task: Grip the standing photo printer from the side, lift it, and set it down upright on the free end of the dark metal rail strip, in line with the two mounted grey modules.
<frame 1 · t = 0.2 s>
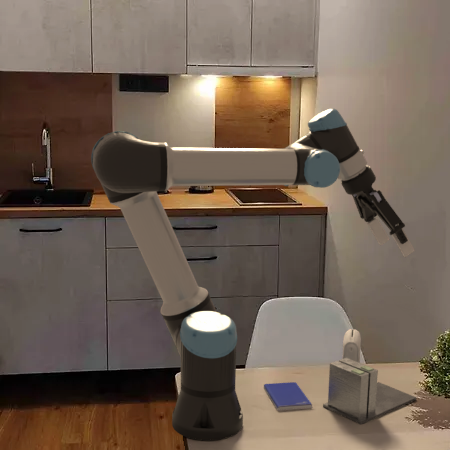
hand: (396, 247, 169), 34 cm above the table, tool tilted 35°, fingers open, 13 cm apart
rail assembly: (370, 403, 165), on the table
hard drive: (287, 400, 168), on the table
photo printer: (350, 379, 179), on the table
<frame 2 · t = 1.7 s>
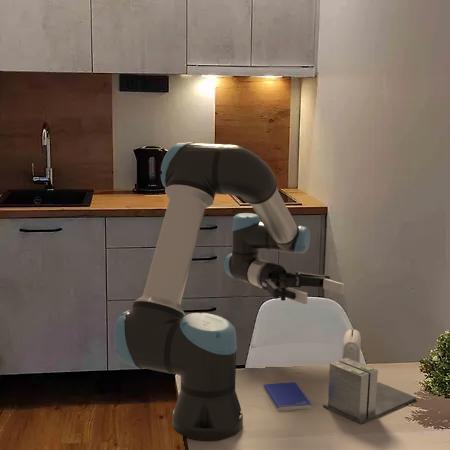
hand: (325, 293, 182), 20 cm above the table, tool horizontal, fingers open, 13 cm apart
nothing on the table moved.
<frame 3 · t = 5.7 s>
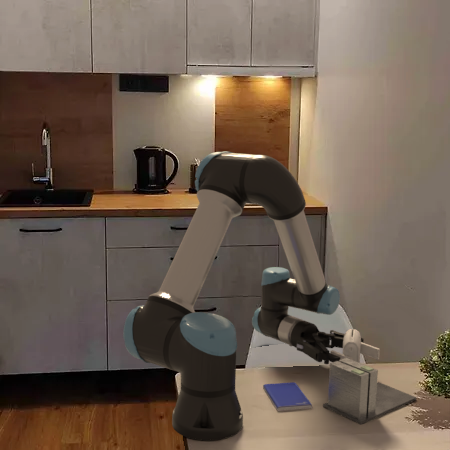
hand: (365, 359, 174), 7 cm above the table, tool horizontal, fingers closed on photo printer, 9 cm apart
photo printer: (349, 379, 179), on the table, touching gripper
everything else where it was.
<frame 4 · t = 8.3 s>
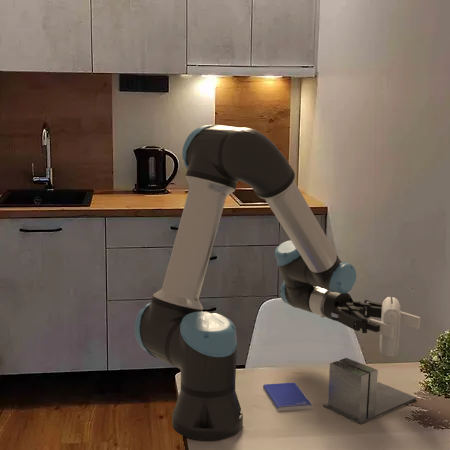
hand: (406, 327, 165), 18 cm above the table, tool horizontal, fingers closed on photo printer, 9 cm apart
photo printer: (388, 350, 169), point 11 cm above the table, touching gripper
everything else where it was.
when the fingers open (8 cm above the table, at t = 10.8 s): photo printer stays where it is, resting on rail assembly.
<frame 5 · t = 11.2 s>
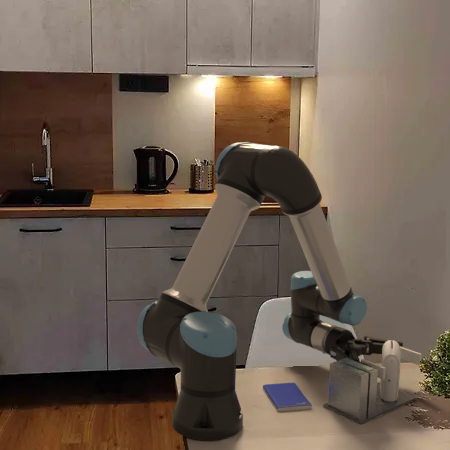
hand: (402, 366, 166), 8 cm above the table, tool horizontal, fingers open, 13 cm apart
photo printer: (388, 393, 170), resting on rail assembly
everything else where it was.
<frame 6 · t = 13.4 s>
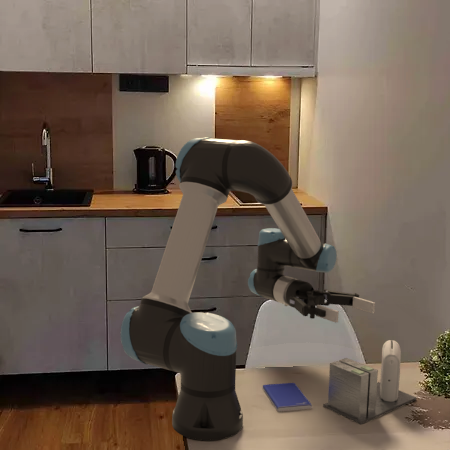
hand: (356, 312, 176), 17 cm above the table, tool horizontal, fingers open, 13 cm apart
nothing on the table moved.
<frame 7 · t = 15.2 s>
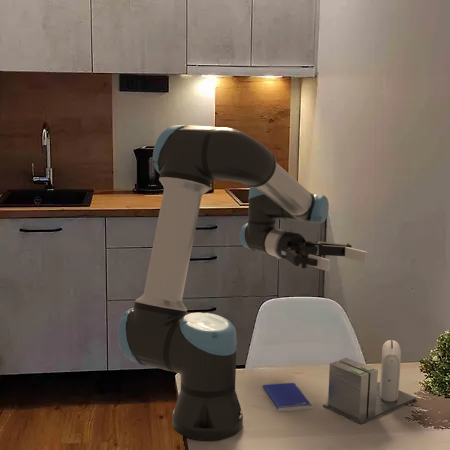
hand: (348, 261, 174), 30 cm above the table, tool horizontal, fingers open, 13 cm apart
nothing on the table moved.
at the end: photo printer inside the target area on the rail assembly (0.1 cm from its centre), point 0.4 cm above the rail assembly's base; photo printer tilted 0°; the gripper is holding nothing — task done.
